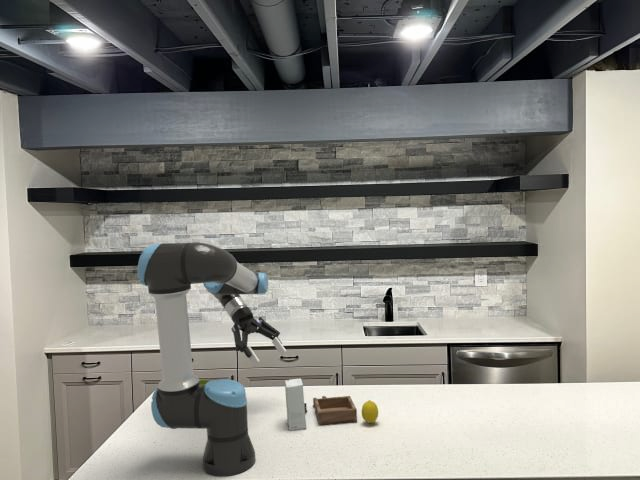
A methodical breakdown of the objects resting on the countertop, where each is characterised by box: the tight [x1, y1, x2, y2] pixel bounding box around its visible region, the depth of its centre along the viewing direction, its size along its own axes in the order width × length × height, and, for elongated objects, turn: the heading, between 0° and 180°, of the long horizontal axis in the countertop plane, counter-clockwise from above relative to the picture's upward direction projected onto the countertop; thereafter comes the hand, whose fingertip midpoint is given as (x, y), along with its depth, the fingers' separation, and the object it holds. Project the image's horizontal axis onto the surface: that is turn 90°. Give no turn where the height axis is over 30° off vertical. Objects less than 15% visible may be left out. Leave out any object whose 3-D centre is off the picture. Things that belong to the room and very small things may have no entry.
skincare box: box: [284, 378, 307, 431], centre depth 168 cm, size 8×6×15 cm
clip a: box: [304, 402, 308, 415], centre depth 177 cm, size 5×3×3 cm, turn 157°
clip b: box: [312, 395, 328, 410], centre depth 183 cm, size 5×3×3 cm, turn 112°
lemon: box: [361, 399, 379, 425], centre depth 166 cm, size 6×6×8 cm
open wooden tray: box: [314, 395, 358, 427], centre depth 173 cm, size 13×13×4 cm
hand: (270, 358), depth 174 cm, fingers open, 13 cm apart
